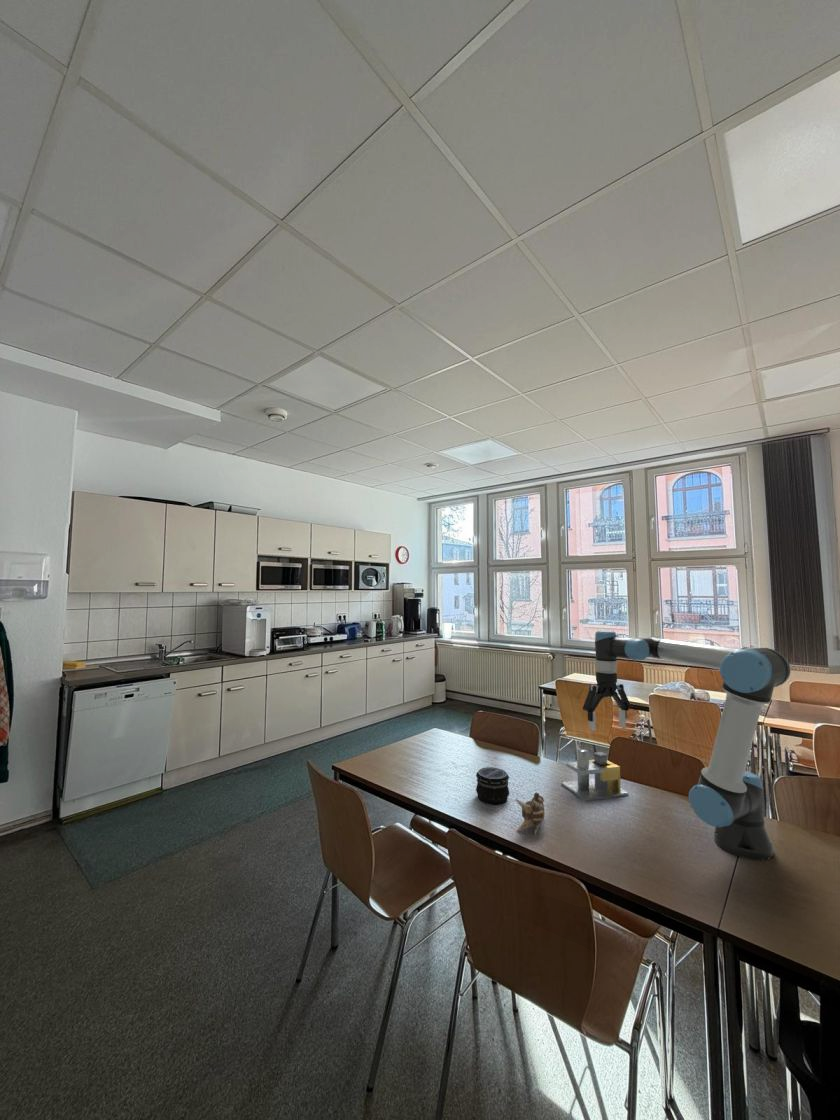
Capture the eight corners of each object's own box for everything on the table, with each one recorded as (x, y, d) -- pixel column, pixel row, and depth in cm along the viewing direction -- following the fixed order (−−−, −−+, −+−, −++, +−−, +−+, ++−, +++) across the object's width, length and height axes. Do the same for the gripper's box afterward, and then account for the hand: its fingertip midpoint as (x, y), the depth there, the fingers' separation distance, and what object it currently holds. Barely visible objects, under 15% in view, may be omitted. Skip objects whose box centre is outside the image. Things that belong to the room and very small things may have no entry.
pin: (608, 787, 183) (607, 754, 184) (600, 788, 182) (599, 755, 183) (601, 784, 186) (601, 751, 188) (594, 785, 185) (593, 752, 186)
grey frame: (628, 795, 178) (627, 753, 180) (586, 801, 172) (585, 758, 174) (600, 779, 193) (600, 741, 195) (561, 784, 188) (560, 745, 189)
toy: (555, 823, 156) (539, 838, 144) (532, 818, 161) (515, 832, 149) (553, 790, 158) (537, 802, 146) (531, 786, 163) (514, 797, 151)
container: (506, 808, 165) (506, 780, 166) (472, 803, 170) (472, 776, 170) (511, 794, 177) (511, 768, 178) (479, 790, 182) (479, 764, 182)
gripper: (625, 669, 179) (627, 723, 177) (572, 671, 171) (573, 728, 170) (640, 671, 172) (641, 728, 170) (585, 674, 164) (586, 733, 162)
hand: (607, 728), depth 170 cm, fingers open, 13 cm apart
